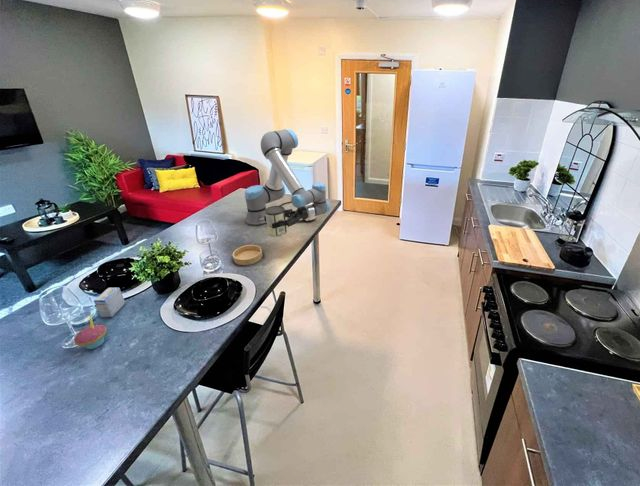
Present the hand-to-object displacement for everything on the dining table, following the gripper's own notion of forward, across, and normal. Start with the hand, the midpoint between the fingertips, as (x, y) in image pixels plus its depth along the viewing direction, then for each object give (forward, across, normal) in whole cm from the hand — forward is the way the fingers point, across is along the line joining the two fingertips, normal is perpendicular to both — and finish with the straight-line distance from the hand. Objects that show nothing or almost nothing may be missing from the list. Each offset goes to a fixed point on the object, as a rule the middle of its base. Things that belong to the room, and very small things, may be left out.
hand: (268, 222), depth 155 cm
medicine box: (+69, -5, -18) cm, 72 cm away
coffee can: (-4, 0, -8) cm, 9 cm away
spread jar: (-34, +23, -18) cm, 45 cm away
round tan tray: (+13, +1, -18) cm, 22 cm away
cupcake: (+75, -22, -18) cm, 80 cm away
